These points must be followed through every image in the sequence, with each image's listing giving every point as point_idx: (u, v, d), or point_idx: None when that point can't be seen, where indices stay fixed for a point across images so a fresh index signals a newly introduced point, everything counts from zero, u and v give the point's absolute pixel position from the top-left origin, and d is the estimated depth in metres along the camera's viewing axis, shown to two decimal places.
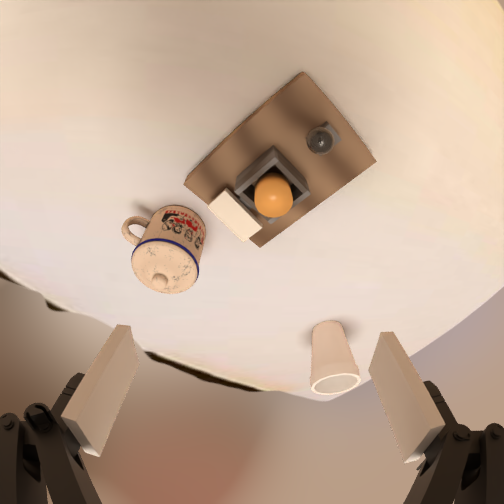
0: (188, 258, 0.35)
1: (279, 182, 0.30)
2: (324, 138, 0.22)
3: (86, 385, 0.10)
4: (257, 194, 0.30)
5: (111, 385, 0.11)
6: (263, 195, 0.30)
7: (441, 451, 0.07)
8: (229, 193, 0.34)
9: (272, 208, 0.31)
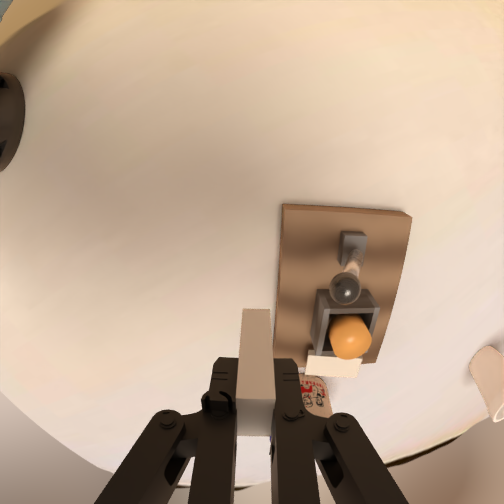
0: None
1: (344, 327, 0.27)
2: (345, 289, 0.20)
3: (246, 365, 0.12)
4: (334, 350, 0.27)
5: None
6: (340, 347, 0.27)
7: (275, 437, 0.09)
8: (314, 353, 0.32)
9: (356, 349, 0.27)
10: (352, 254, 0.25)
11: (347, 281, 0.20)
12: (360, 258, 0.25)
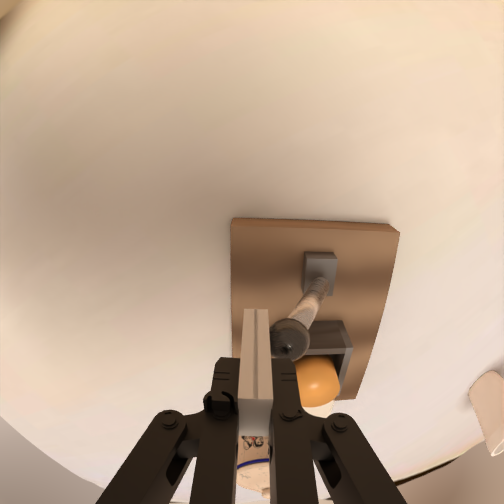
0: None
1: (304, 372, 0.21)
2: (283, 345, 0.14)
3: (248, 365, 0.12)
4: None
5: None
6: None
7: (273, 437, 0.09)
8: None
9: (320, 397, 0.21)
10: (312, 285, 0.20)
11: (286, 334, 0.14)
12: (322, 291, 0.19)
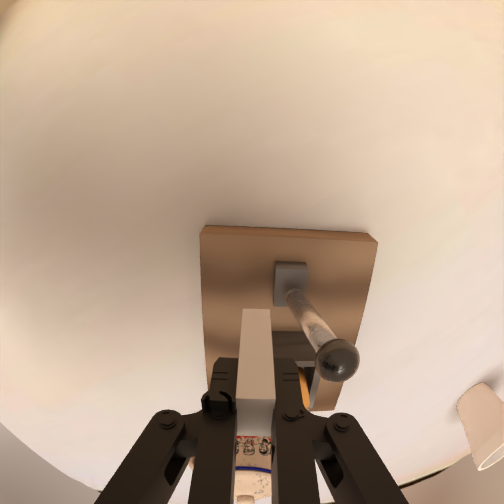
0: (256, 474, 0.24)
1: None
2: (350, 366, 0.13)
3: (246, 365, 0.12)
4: None
5: None
6: None
7: (275, 437, 0.09)
8: None
9: None
10: (298, 299, 0.19)
11: (349, 355, 0.13)
12: (309, 302, 0.19)
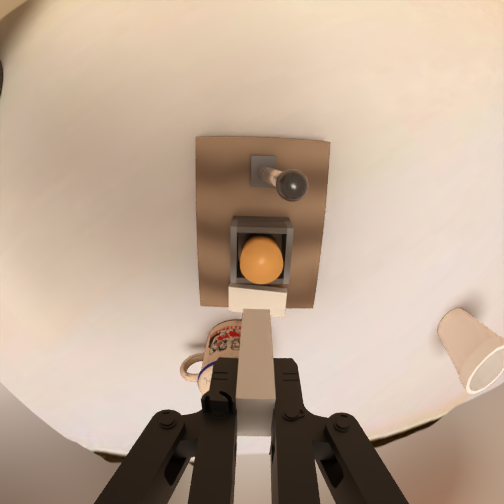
0: None
1: (251, 244, 0.27)
2: (299, 181, 0.20)
3: (246, 365, 0.12)
4: (242, 270, 0.28)
5: None
6: (247, 267, 0.27)
7: (275, 437, 0.09)
8: (235, 285, 0.33)
9: (266, 271, 0.28)
10: (266, 168, 0.26)
11: (298, 174, 0.20)
12: None
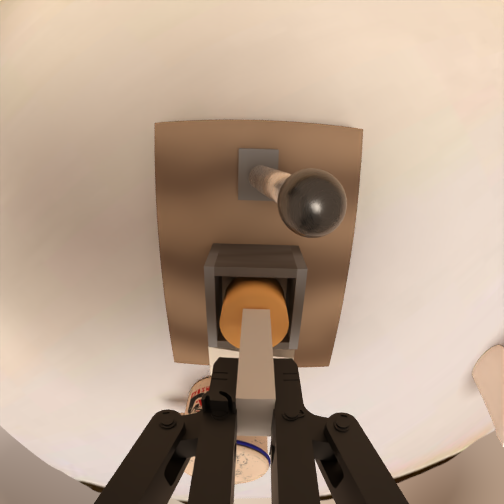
0: None
1: (236, 293, 0.17)
2: (330, 195, 0.09)
3: (246, 365, 0.12)
4: (224, 333, 0.17)
5: None
6: (232, 328, 0.17)
7: (275, 437, 0.09)
8: None
9: None
10: (262, 168, 0.15)
11: (327, 179, 0.09)
12: None
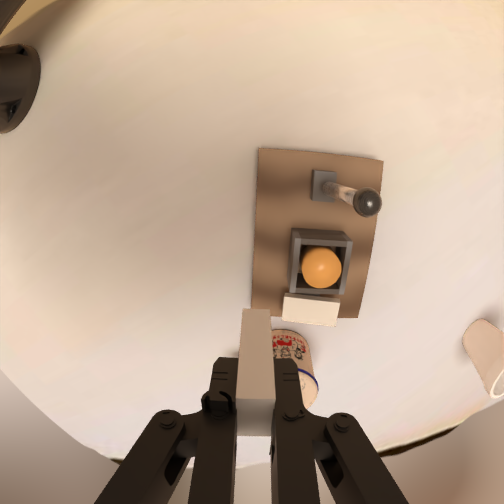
0: None
1: (313, 251, 0.29)
2: (376, 199, 0.21)
3: (246, 365, 0.12)
4: (304, 275, 0.29)
5: None
6: (309, 272, 0.29)
7: (275, 437, 0.09)
8: (290, 295, 0.33)
9: (326, 276, 0.29)
10: (333, 184, 0.27)
11: (374, 192, 0.21)
12: None
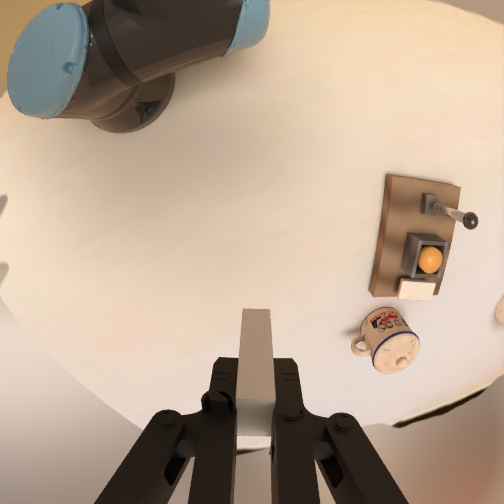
0: (410, 335, 0.41)
1: (427, 249, 0.39)
2: (477, 219, 0.30)
3: (246, 365, 0.12)
4: (422, 265, 0.39)
5: None
6: (425, 263, 0.39)
7: (275, 437, 0.09)
8: (405, 280, 0.43)
9: (434, 265, 0.39)
10: (442, 205, 0.36)
11: (475, 215, 0.30)
12: None
